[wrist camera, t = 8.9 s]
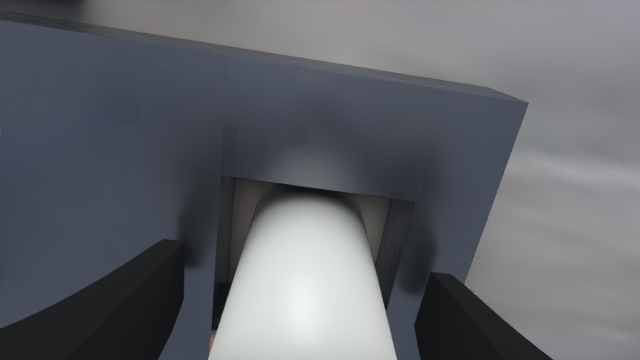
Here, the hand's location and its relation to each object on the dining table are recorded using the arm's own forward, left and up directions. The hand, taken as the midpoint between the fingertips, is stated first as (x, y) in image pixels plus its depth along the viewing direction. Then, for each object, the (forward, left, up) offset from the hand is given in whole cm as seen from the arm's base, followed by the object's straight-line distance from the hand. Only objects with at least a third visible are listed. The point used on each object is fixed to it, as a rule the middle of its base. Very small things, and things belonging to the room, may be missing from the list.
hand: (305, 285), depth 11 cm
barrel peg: (0, 0, -3) cm, 3 cm away
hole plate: (-3, 0, -3) cm, 4 cm away
